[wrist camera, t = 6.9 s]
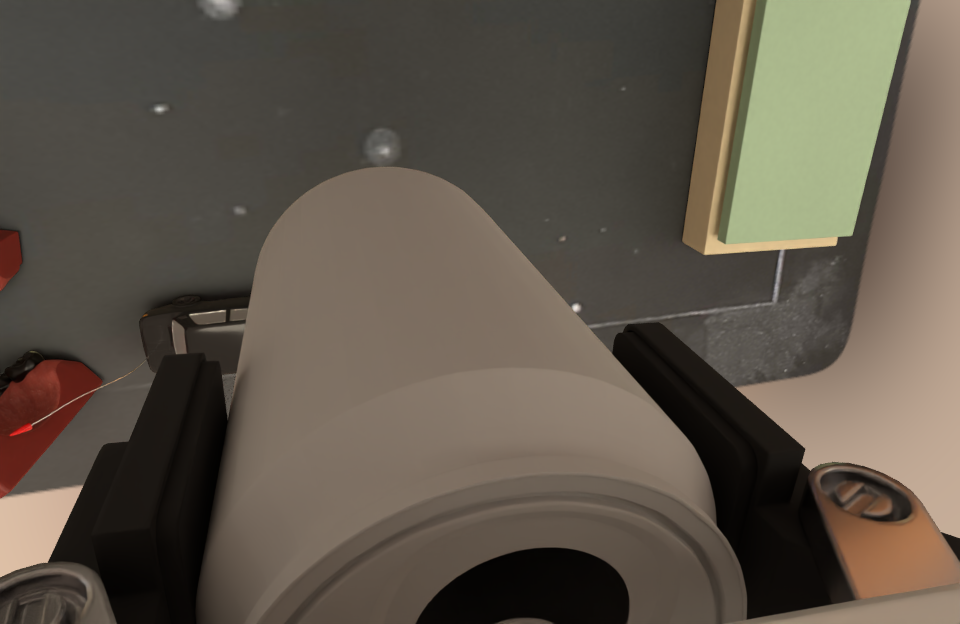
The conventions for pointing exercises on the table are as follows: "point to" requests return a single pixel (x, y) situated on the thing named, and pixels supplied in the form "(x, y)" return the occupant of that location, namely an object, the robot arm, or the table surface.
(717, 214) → the scale
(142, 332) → the toy car
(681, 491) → the beverage can
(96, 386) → the teeth
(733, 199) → the pan
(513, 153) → the table surface
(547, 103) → the table surface
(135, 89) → the table surface
